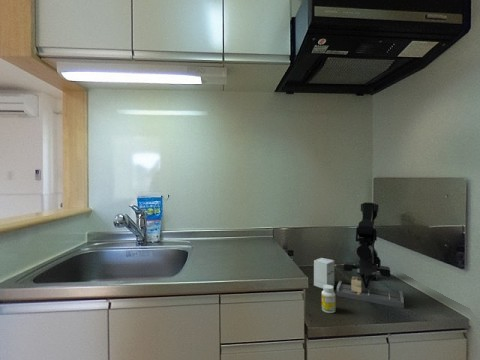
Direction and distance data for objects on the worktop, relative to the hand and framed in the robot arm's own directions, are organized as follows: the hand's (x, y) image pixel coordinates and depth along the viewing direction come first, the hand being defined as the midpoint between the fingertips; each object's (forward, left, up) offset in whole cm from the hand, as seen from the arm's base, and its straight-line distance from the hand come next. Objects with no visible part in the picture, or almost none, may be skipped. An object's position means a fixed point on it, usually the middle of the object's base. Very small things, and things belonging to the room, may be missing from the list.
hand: (366, 287), depth 119 cm
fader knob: (0, -4, -2) cm, 4 cm away
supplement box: (-4, -19, -4) cm, 20 cm away
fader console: (0, +1, -4) cm, 4 cm away
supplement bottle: (+20, -13, -4) cm, 24 cm away
